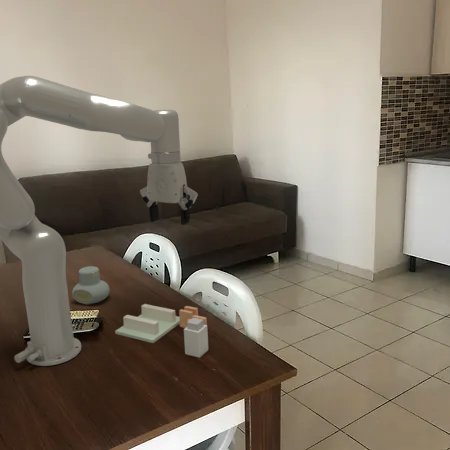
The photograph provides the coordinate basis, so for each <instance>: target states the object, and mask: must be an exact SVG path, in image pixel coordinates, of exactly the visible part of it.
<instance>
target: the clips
mask: <svg viewBox="0 0 450 450" xmlns="http://www.w3.org/2000/svg"><path fill="white" fill-rule="evenodd" d="M183 308H184V309H182V308H181V309H179V310H178V314H179V317H180V324H179V327H180V328H183V329H185V328H186V327H187V322H188V321H189V320H191V319H192V318H198V319H203V320H204V325H207V324H208V322H207V321H208V320H207V317H205V316H201V315H199V308H198V307H194V306H190V305H186V306H184V307H183ZM207 326H208V325H207Z"/></svg>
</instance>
